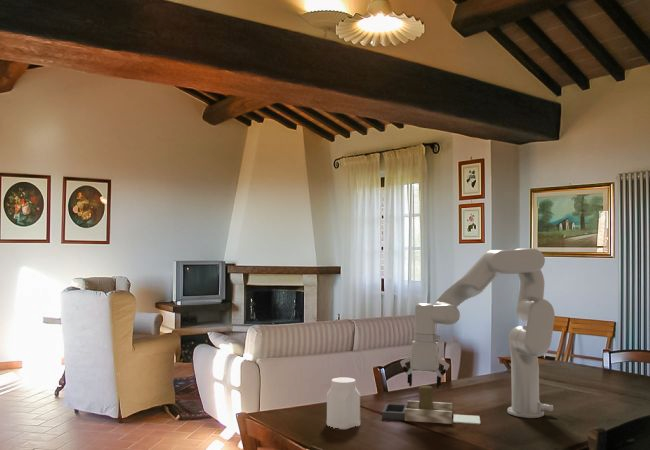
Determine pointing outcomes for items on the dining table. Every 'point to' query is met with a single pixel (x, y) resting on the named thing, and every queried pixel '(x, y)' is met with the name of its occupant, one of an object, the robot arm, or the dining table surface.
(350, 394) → the jar
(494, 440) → the dining table surface
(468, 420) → the pad
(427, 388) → the cork
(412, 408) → the birch lane
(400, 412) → the box
